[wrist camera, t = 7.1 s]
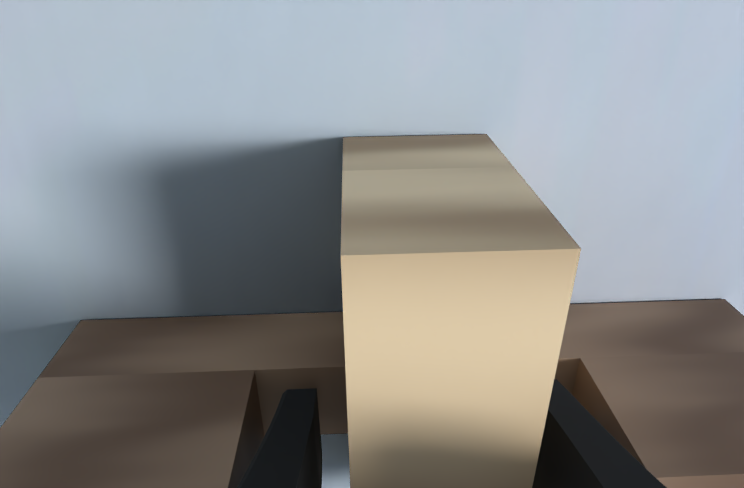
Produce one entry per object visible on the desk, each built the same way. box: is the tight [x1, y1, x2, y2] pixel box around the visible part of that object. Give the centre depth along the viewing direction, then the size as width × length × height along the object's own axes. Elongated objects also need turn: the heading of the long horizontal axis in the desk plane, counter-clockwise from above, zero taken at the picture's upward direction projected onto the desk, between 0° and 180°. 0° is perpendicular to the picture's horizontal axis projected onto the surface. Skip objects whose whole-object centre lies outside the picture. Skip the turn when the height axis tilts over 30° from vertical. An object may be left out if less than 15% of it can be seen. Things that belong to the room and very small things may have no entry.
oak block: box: [341, 134, 581, 488], centre depth 11 cm, size 10×3×5 cm, turn 1°
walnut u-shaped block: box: [0, 299, 744, 488], centre depth 11 cm, size 16×2×5 cm, turn 91°
